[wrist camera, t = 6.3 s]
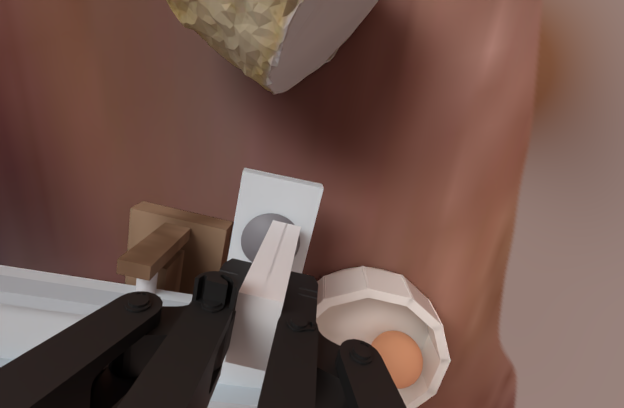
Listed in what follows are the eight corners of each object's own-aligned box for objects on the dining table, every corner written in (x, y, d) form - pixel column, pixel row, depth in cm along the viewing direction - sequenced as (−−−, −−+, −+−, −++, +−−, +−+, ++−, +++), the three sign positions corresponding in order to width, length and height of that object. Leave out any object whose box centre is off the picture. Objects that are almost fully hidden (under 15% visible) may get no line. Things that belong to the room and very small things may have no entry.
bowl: (278, 369, 25) (272, 404, 23) (308, 251, 22) (306, 273, 20) (407, 397, 26) (417, 435, 23) (454, 284, 23) (473, 311, 20)
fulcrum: (130, 347, 25) (67, 427, 19) (143, 201, 22) (70, 241, 16) (208, 364, 25) (171, 448, 19) (233, 221, 22) (197, 269, 16)
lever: (-80, 366, 19) (-142, 412, 16) (-122, 89, 14) (-218, 89, 12) (266, 404, 22) (263, 450, 19) (321, 183, 17) (328, 200, 14)
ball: (399, 412, 20) (420, 382, 23) (418, 367, 19) (438, 342, 22) (352, 374, 22) (377, 352, 25) (367, 332, 21) (391, 313, 24)
